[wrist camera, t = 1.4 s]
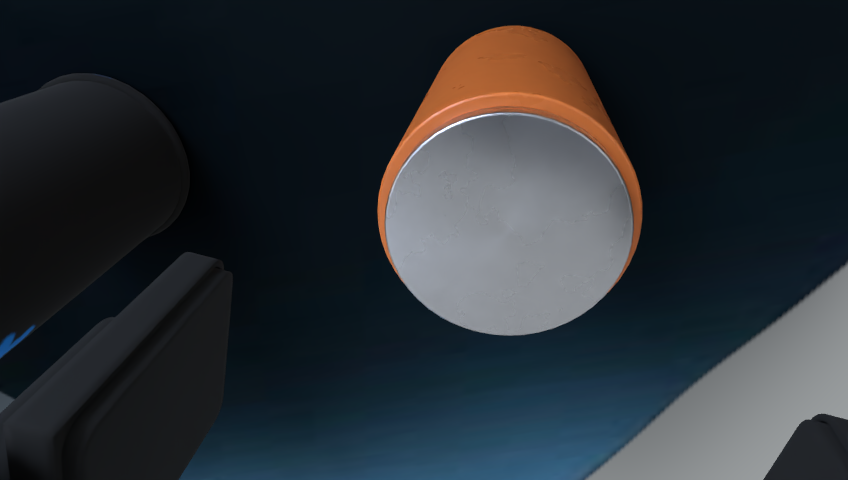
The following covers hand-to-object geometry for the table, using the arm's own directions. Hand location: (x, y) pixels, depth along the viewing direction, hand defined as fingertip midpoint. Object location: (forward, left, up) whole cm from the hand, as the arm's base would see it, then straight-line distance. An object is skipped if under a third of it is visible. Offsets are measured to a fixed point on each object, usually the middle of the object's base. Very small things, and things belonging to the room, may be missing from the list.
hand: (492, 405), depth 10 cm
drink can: (0, 0, -18) cm, 18 cm away
